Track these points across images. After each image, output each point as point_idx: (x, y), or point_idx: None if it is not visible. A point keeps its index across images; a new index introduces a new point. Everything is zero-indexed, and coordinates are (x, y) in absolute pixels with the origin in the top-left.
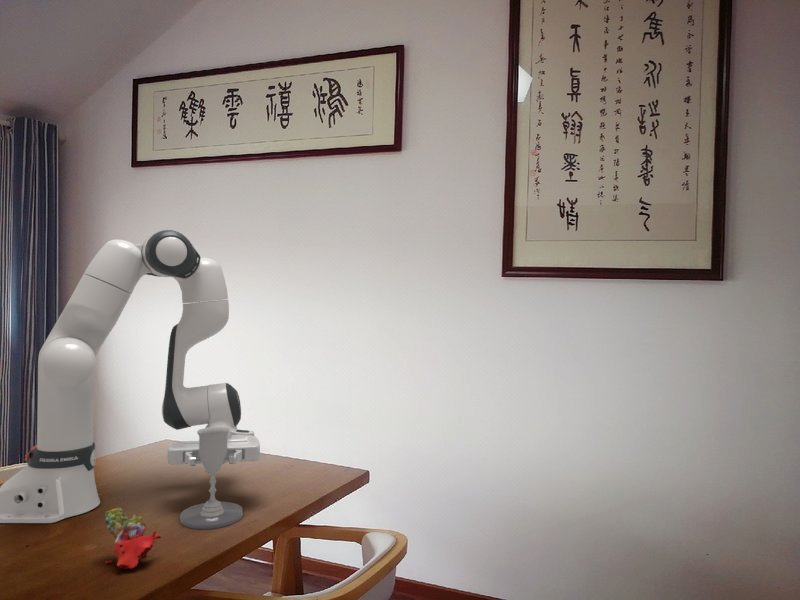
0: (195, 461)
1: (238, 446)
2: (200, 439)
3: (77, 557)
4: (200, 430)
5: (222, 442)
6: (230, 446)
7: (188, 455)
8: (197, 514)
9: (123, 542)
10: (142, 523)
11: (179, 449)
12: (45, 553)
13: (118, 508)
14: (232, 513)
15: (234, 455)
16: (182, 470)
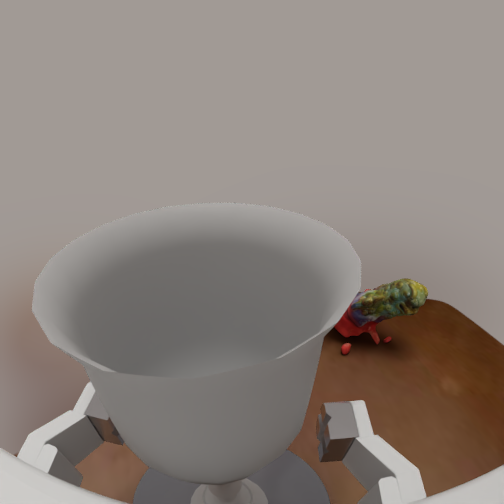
0: (323, 436)
1: (17, 466)
2: (303, 276)
3: (441, 357)
4: (348, 297)
5: (152, 283)
6: (61, 492)
7: (382, 441)
8: (276, 501)
9: (364, 291)
10: (358, 301)
11: (475, 481)
12: (489, 365)
13: (409, 283)
14: (167, 482)
15: (91, 390)
16: None
